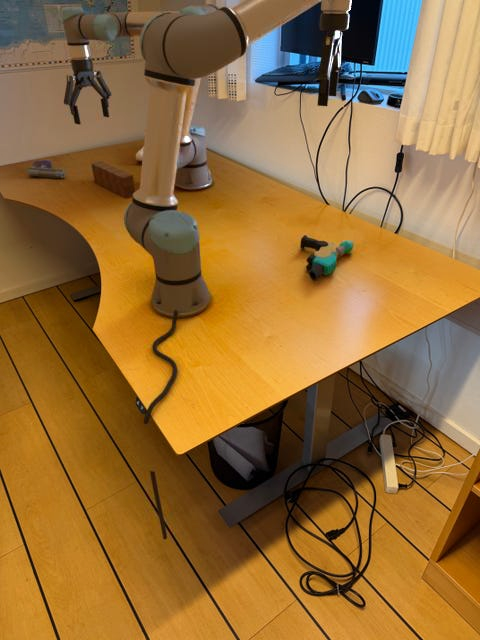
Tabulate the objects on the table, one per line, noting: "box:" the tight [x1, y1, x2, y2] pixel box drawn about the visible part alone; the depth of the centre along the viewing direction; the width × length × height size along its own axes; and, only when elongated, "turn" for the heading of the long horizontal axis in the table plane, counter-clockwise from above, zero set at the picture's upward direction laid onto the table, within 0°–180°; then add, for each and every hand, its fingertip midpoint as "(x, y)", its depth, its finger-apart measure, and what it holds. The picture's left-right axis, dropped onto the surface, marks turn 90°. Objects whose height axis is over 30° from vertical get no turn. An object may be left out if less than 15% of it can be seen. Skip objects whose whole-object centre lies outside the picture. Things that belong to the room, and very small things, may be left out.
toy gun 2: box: [299, 234, 355, 282], centre depth 140 cm, size 4×26×15 cm
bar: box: [90, 160, 136, 199], centre depth 191 cm, size 24×4×8 cm, turn 43°
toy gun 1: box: [26, 159, 67, 179], centre depth 208 cm, size 4×19×15 cm
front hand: (327, 100), depth 136 cm, fingers open, 13 cm apart
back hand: (92, 120), depth 184 cm, fingers open, 13 cm apart
